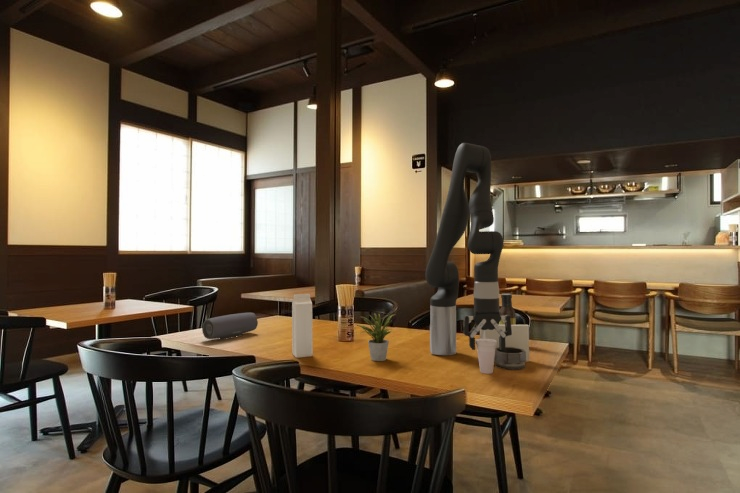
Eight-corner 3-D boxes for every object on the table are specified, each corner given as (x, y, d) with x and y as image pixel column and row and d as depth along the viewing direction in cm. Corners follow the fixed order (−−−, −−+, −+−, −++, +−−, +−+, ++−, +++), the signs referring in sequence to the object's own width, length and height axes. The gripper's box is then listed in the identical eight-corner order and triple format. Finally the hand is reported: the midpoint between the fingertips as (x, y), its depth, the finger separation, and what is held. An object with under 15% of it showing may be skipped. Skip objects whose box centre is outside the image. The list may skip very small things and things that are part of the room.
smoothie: (472, 369, 132) (472, 324, 132) (492, 368, 132) (492, 324, 132) (479, 375, 125) (479, 328, 126) (500, 374, 126) (500, 328, 126)
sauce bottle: (510, 342, 170) (510, 292, 170) (519, 345, 164) (519, 294, 164) (496, 343, 168) (495, 293, 169) (504, 346, 162) (504, 294, 162)
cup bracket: (498, 369, 131) (498, 353, 131) (490, 361, 141) (490, 346, 141) (528, 370, 131) (528, 353, 131) (518, 361, 141) (518, 346, 141)
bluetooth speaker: (245, 331, 196) (245, 310, 196) (258, 334, 191) (258, 312, 191) (201, 340, 178) (201, 317, 178) (214, 343, 172) (214, 319, 173)
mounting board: (480, 361, 141) (480, 325, 142) (480, 360, 143) (479, 324, 143) (529, 361, 141) (528, 325, 141) (528, 360, 142) (527, 324, 142)
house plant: (379, 351, 156) (379, 307, 156) (408, 357, 146) (408, 310, 147) (351, 358, 146) (350, 311, 146) (379, 366, 136) (379, 315, 137)
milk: (312, 356, 150) (312, 294, 150) (295, 358, 148) (295, 295, 148) (308, 352, 156) (308, 292, 156) (291, 354, 153) (291, 293, 153)
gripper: (465, 297, 126) (466, 352, 125) (513, 297, 125) (514, 352, 125) (460, 295, 133) (461, 346, 133) (506, 294, 133) (507, 346, 132)
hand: (487, 349), depth 129 cm, fingers open, 8 cm apart
